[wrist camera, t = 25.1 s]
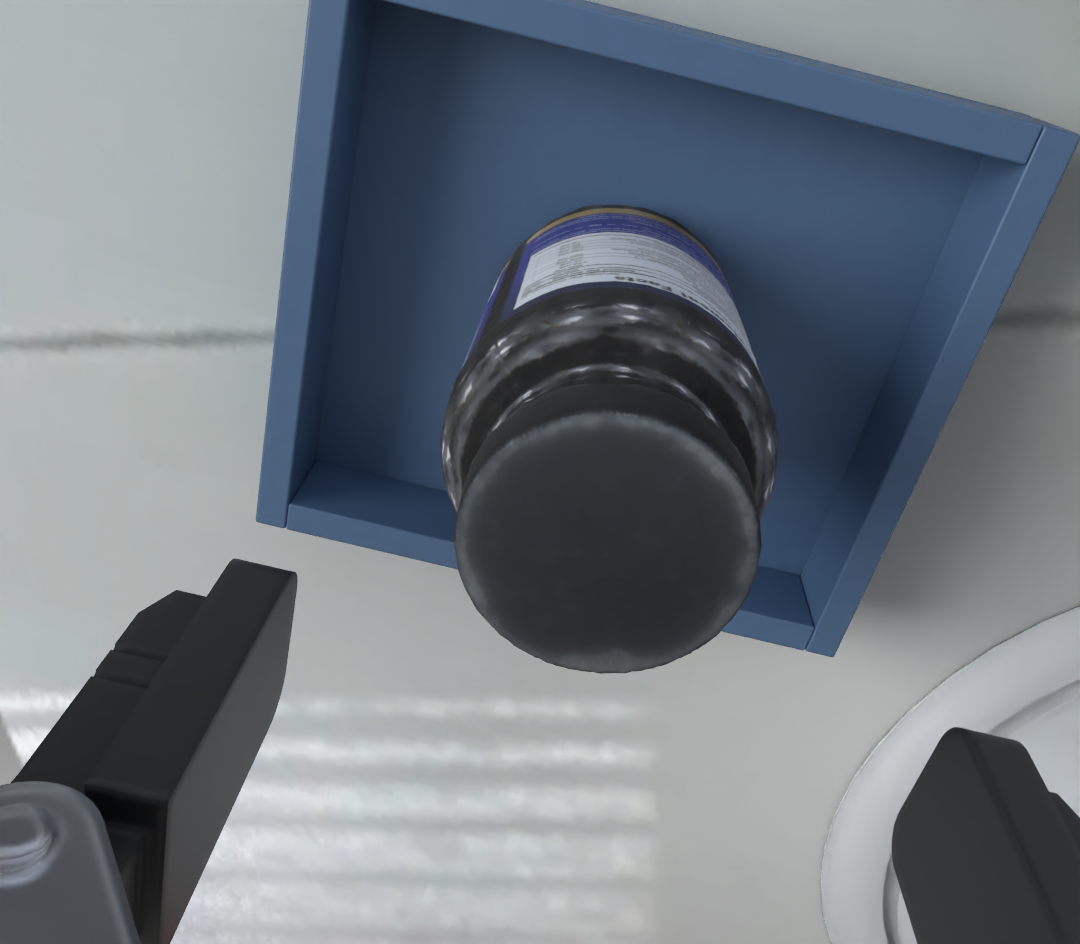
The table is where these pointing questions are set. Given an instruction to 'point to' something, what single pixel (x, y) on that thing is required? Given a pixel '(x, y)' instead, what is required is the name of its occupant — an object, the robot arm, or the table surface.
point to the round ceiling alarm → (898, 759)
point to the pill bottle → (609, 446)
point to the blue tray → (664, 187)
